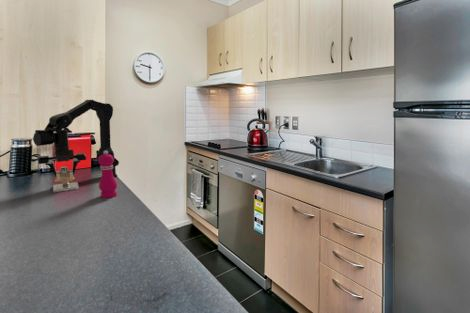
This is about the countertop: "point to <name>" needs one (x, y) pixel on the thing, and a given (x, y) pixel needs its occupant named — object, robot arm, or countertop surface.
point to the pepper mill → (107, 176)
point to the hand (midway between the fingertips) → (64, 176)
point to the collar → (64, 175)
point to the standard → (65, 183)
